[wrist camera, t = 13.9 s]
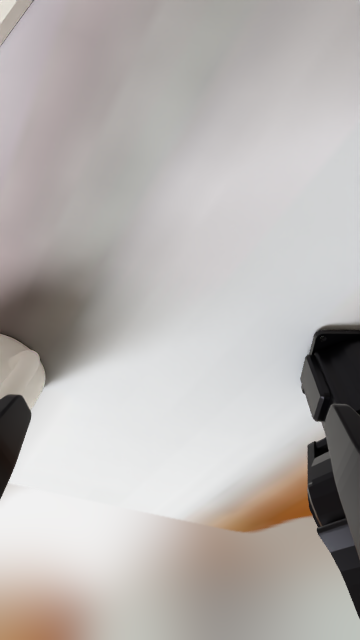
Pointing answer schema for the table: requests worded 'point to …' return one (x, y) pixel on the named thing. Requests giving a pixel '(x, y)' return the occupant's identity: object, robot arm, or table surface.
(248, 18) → the table surface
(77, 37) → the table surface
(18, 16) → the plate
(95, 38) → the table surface
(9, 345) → the mug
